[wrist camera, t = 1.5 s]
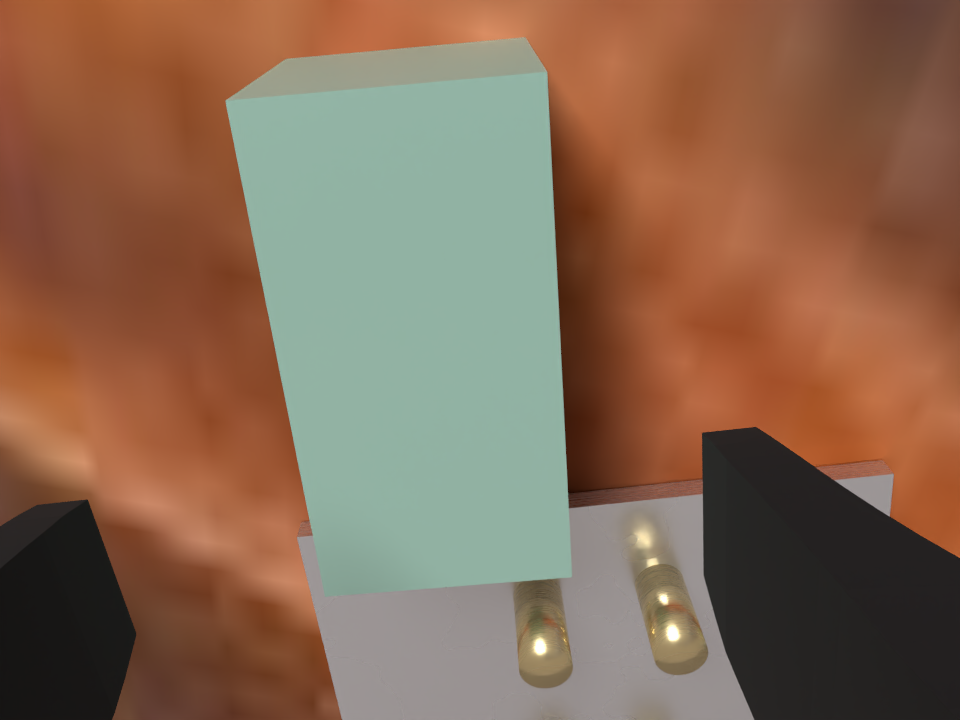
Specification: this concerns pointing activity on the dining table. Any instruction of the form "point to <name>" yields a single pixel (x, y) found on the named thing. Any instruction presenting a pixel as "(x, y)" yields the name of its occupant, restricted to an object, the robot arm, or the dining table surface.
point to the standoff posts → (662, 613)
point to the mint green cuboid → (414, 308)
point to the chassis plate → (589, 617)
